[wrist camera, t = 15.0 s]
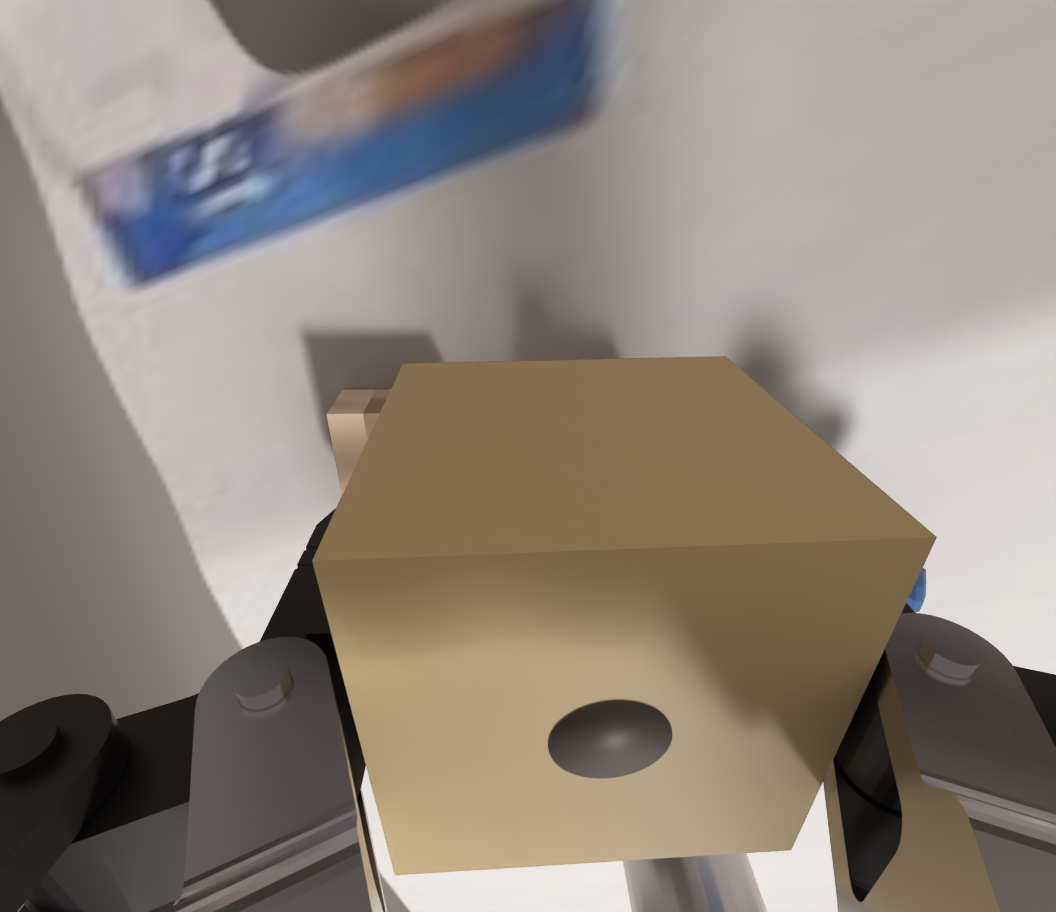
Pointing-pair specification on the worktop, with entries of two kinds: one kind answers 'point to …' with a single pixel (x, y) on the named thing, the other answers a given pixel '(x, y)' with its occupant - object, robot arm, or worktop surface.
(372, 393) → the stand
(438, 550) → the block
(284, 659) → the robot arm
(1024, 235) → the worktop surface
